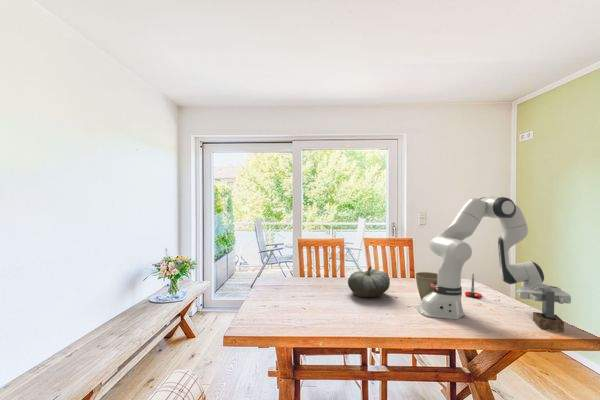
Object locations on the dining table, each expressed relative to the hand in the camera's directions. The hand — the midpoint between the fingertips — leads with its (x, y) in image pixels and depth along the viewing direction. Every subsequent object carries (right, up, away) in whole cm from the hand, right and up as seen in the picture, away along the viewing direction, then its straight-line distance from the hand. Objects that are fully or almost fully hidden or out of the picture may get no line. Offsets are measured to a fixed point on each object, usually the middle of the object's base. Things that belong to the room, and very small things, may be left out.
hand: (548, 300), depth 141 cm
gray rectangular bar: (0, -11, +1) cm, 11 cm away
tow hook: (-10, -12, +44) cm, 47 cm away
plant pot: (-43, -12, +31) cm, 54 cm away
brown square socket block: (0, -12, +1) cm, 12 cm away
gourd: (-74, -12, +45) cm, 87 cm away
